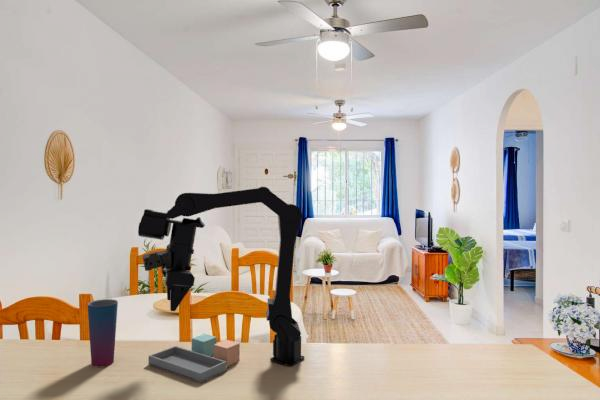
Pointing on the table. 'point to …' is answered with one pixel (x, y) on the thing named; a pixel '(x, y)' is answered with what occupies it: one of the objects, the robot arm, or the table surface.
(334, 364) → the table surface
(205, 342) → the teal block
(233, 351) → the terracotta block
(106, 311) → the cup
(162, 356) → the tray
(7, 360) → the table surface
